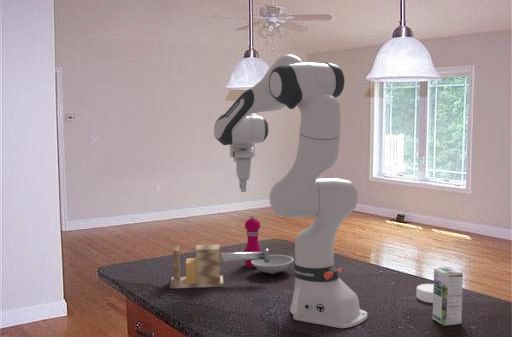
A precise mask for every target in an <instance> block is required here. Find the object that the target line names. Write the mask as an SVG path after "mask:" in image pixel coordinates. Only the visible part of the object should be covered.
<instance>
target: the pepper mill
mask: <svg viewBox="0 0 512 337" xmlns="http://www.w3.org/2000/svg"><path fill="white" fill-rule="evenodd" d="M255 217H256V216H255V215H254V214H251V215H250V216H249V218H248V219H247V220H246V221H245V223H244V228H245V231H246V236H247V242H246V246H245V247H244V251H243V252H263V251H262V248H261V247H260V243H259V235H260V231H259V230H260V229H261V223H260V222H261V221H259V219H257V218H255ZM251 261H252V260H244V267H246V266H247V268H251V267H255V266H254V265H253V264H252V263H251ZM255 268H256V267H255Z"/></svg>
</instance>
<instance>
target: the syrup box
mask: <svg viewBox="0 0 512 337" xmlns="http://www.w3.org/2000/svg"><path fill="white" fill-rule="evenodd" d="M463 280H464V272H463V271H459V270H457V269H454V268H453V267H446V266H445V267H444V266H443V267H442V266H441V267H437V268H435V267H434V269H433V284H434V289H433V303H432V320H434V321H436V322H438V323H439V324H441V325H442V326H444V327H445V326H446V327H447V326H456V325H461V324H462V321H463V320H462V318H463V317H462V316H463V313H462V312H463V284H464V283H463Z"/></svg>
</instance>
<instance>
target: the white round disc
mask: <svg viewBox="0 0 512 337" xmlns="http://www.w3.org/2000/svg"><path fill="white" fill-rule="evenodd" d="M433 289H434V283H422V284H419V285H417V286H416V296H415V297H416V298H417V299H418V300H419V301H422V302H425V303H429V304H430V303H431V304H433Z"/></svg>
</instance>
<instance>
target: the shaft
mask: <svg viewBox="0 0 512 337" xmlns="http://www.w3.org/2000/svg"><path fill="white" fill-rule="evenodd" d="M269 255H270V249H269V248H263V251H262V252H244V251H237V252H220V262H229V261H232V262H233V261H235V262H236V261H239V262H240V261H246V260H264V263H269Z"/></svg>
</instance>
